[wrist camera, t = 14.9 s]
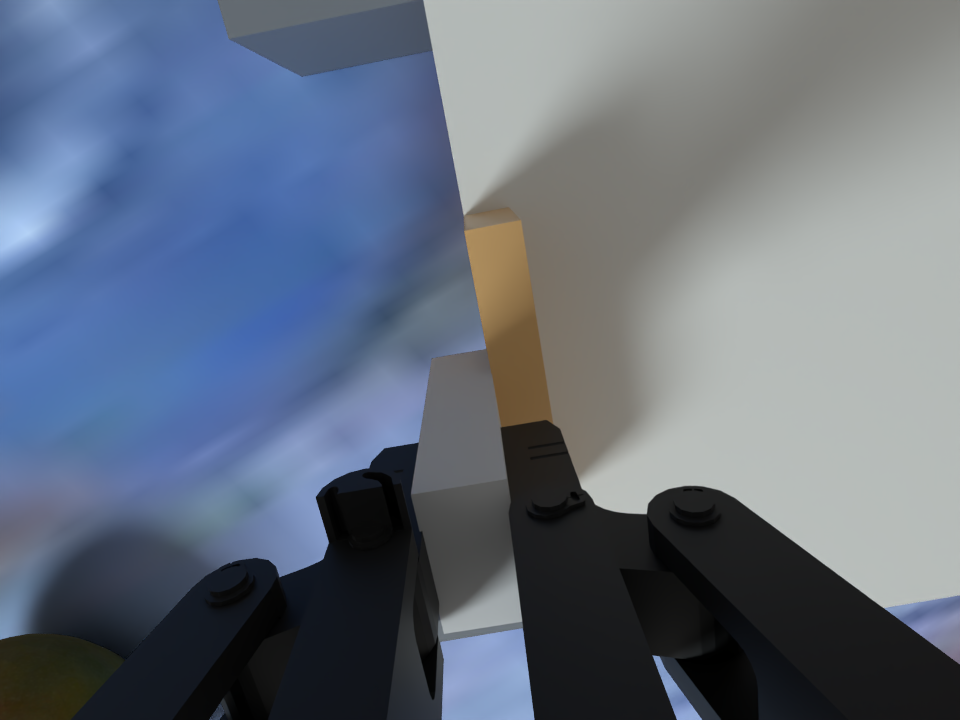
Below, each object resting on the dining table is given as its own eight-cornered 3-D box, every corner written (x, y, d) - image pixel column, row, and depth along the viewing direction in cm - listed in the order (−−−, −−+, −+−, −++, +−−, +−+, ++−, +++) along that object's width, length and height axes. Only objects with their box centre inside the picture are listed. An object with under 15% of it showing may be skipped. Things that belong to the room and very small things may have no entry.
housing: (294, 48, 22) (216, -4, 15) (1178, -132, 21) (1536, -277, 14) (418, 530, 30) (404, 647, 22) (1087, 413, 28) (1295, 498, 21)
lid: (413, -56, 14) (392, -146, 10) (1120, -203, 14) (1413, -365, 10) (544, 640, 21) (565, 760, 17) (1015, 562, 21) (1157, 665, 17)
